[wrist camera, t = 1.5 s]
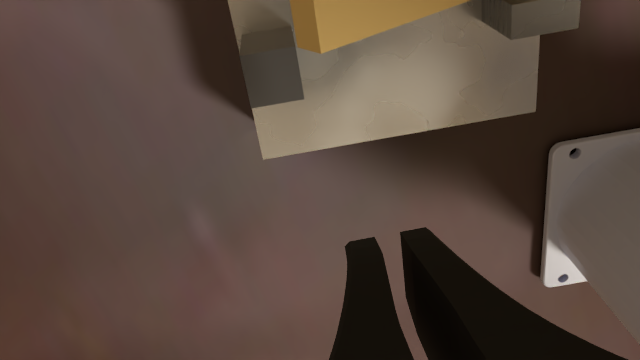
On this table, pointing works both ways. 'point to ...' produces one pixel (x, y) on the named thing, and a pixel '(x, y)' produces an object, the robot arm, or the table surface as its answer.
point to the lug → (271, 67)
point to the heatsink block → (408, 73)
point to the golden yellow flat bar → (355, 19)
